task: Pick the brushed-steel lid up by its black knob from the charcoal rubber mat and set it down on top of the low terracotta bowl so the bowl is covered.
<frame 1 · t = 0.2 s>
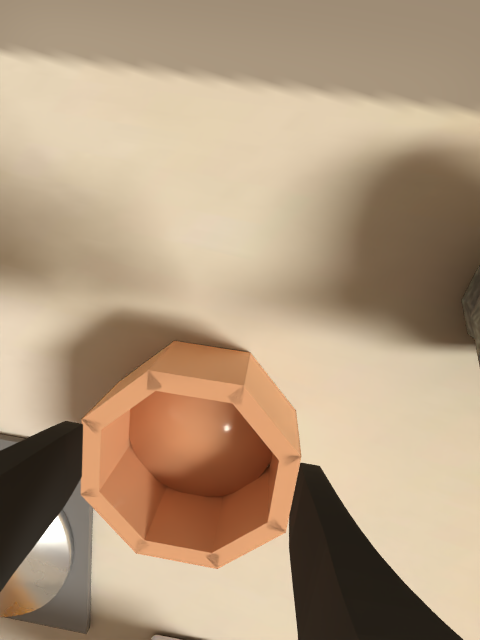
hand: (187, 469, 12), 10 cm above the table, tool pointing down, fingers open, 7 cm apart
terracotta bowl: (202, 428, 22), on the table
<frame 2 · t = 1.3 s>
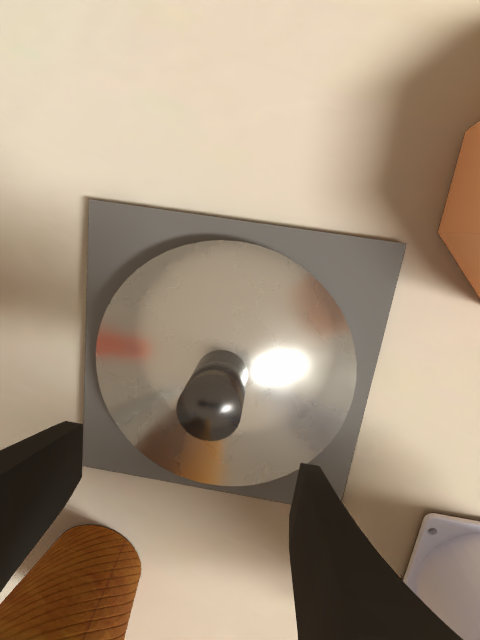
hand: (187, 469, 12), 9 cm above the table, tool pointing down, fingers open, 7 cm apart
rubber mat: (225, 365, 20), on the table
disposable coffee cup: (99, 558, 25), on the table
steel lid: (224, 368, 20), resting on rubber mat
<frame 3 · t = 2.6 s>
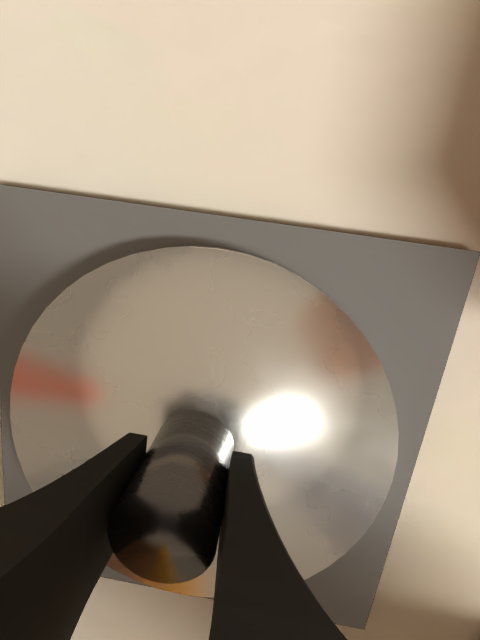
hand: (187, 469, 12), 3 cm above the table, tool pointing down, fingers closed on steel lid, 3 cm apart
rubber mat: (202, 426, 14), on the table
steel lid: (199, 433, 14), resting on rubber mat, touching gripper
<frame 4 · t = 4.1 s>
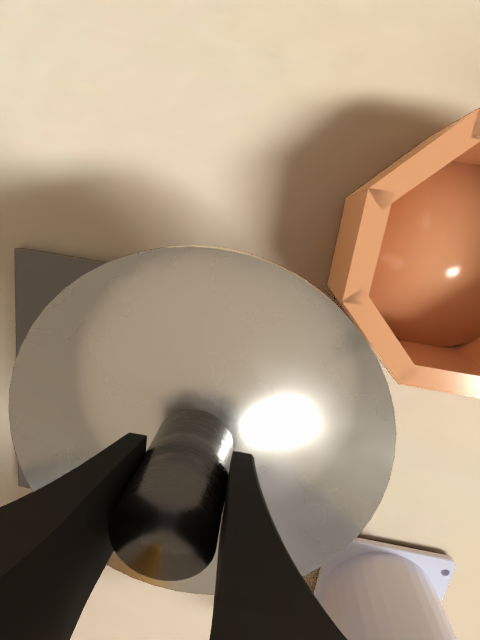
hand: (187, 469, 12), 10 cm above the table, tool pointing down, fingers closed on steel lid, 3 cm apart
rubber mat: (144, 397, 22), on the table
terracotta bowl: (441, 259, 19), on the table
steel lid: (198, 432, 14), point 8 cm above the table, touching gripper
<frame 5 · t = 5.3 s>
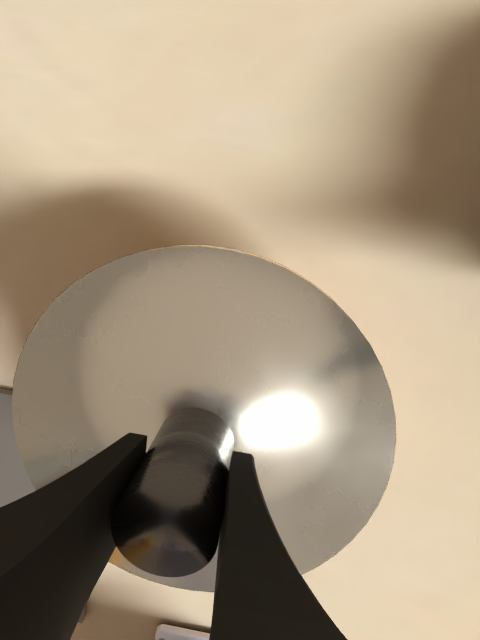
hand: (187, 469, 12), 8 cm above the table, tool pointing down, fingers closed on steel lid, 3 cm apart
steel lid: (200, 430, 14), point 5 cm above the table, touching gripper
when the fingers open (8 cm above the table, at t = 6.0 s): steel lid stays where it is, resting on terracotta bowl.
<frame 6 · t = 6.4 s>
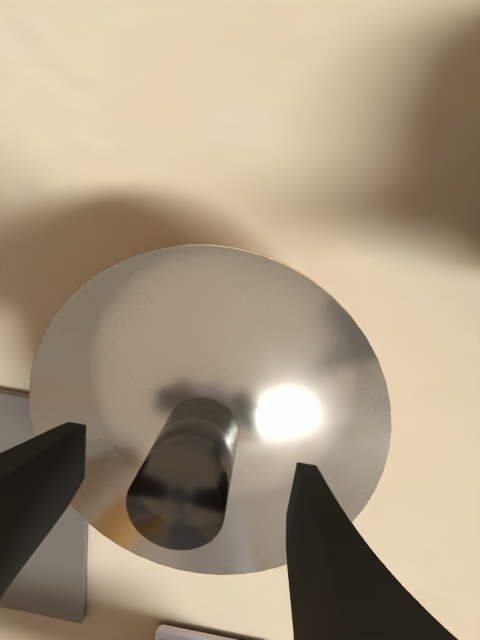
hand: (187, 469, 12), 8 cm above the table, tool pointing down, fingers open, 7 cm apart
steel lid: (206, 419, 15), point 4 cm above the table, touching terracotta bowl
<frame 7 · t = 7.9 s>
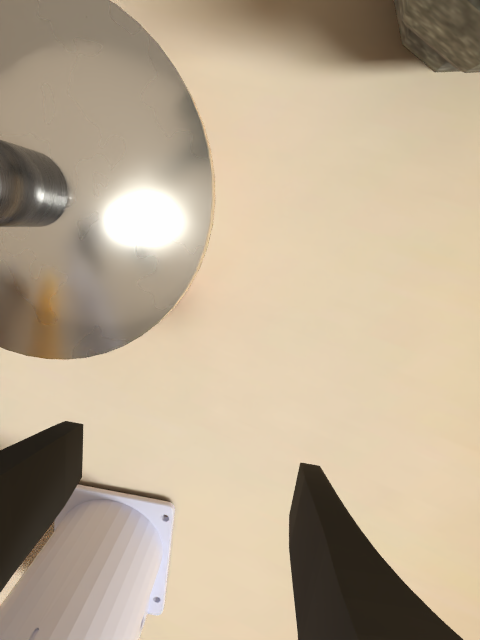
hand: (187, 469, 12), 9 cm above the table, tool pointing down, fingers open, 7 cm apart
mortar and pestle: (458, 13, 16), on the table
steel lid: (45, 191, 15), point 4 cm above the table, touching terracotta bowl
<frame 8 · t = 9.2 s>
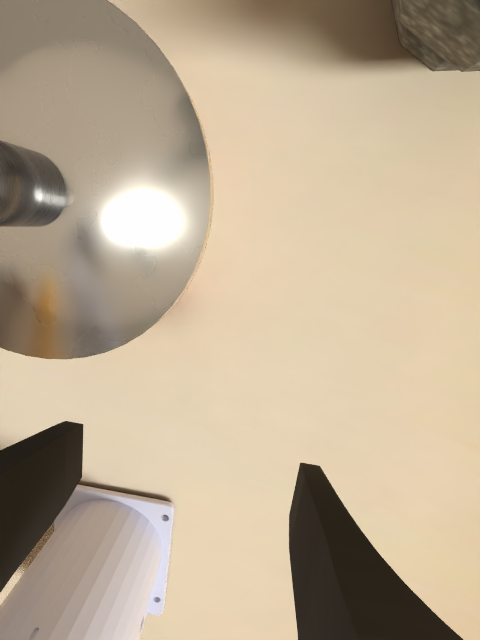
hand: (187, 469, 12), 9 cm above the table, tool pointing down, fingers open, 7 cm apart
mortar and pestle: (455, 12, 16), on the table
steel lid: (44, 191, 15), point 4 cm above the table, touching terracotta bowl
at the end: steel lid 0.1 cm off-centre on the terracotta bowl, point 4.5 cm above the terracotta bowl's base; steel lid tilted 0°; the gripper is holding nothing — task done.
